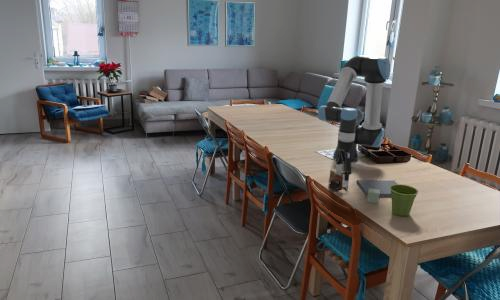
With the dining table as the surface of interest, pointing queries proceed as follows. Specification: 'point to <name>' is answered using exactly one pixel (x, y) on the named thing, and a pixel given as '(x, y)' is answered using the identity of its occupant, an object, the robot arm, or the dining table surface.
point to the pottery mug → (334, 185)
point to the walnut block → (334, 173)
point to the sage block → (373, 195)
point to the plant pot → (402, 199)
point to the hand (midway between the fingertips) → (341, 181)
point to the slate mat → (377, 186)
